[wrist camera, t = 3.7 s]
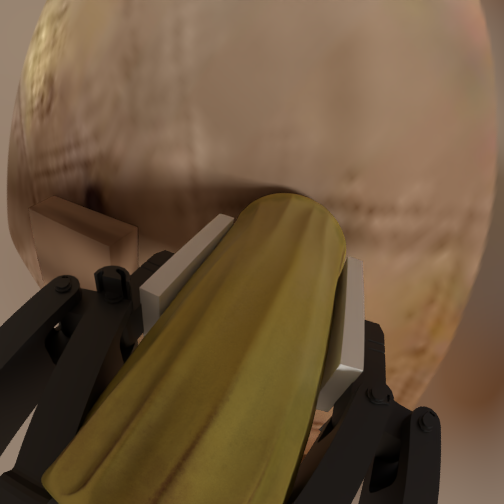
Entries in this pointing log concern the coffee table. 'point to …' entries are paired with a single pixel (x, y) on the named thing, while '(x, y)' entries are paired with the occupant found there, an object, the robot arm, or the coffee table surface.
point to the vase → (219, 374)
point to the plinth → (80, 241)
